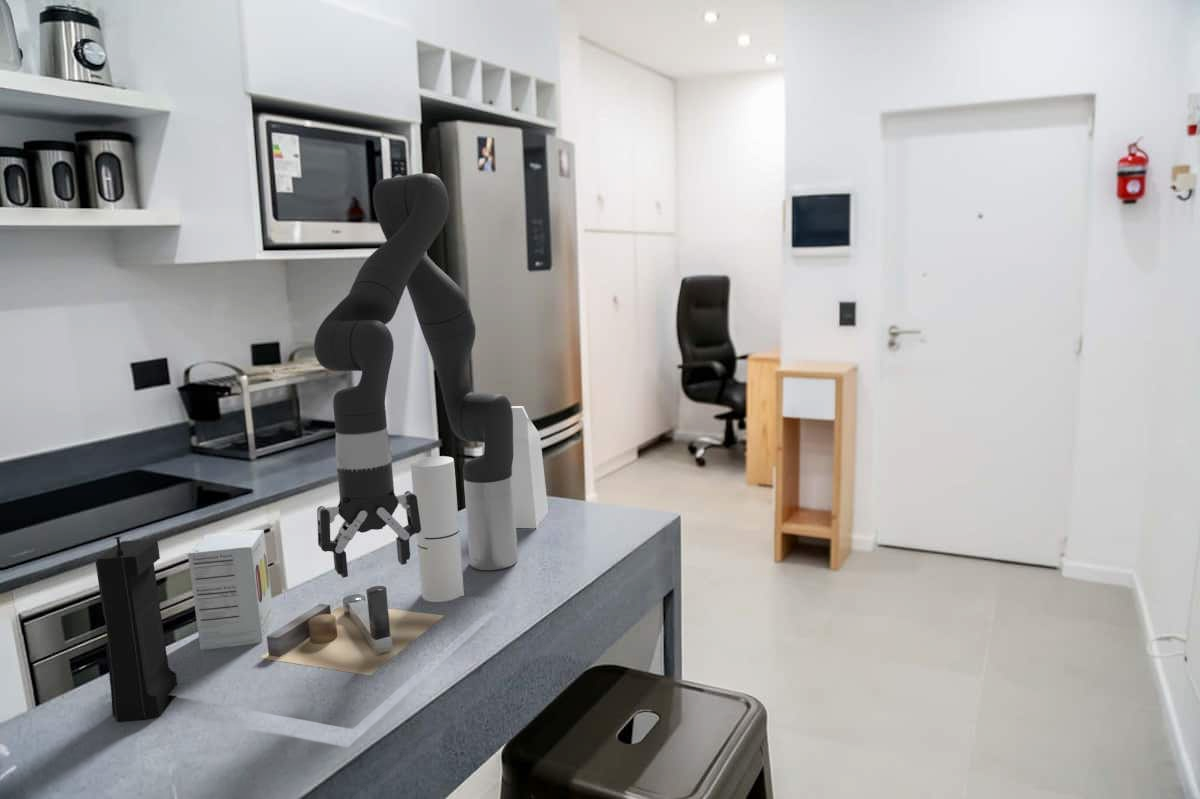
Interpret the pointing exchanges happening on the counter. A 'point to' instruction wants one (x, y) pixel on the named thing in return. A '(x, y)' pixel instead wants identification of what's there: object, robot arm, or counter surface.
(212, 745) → the counter surface
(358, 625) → the lever
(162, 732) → the counter surface
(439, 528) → the cylindrical container
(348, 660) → the nutcracker board
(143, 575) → the portable radio
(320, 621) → the nut
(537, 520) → the milk
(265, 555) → the supplement box
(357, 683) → the counter surface
